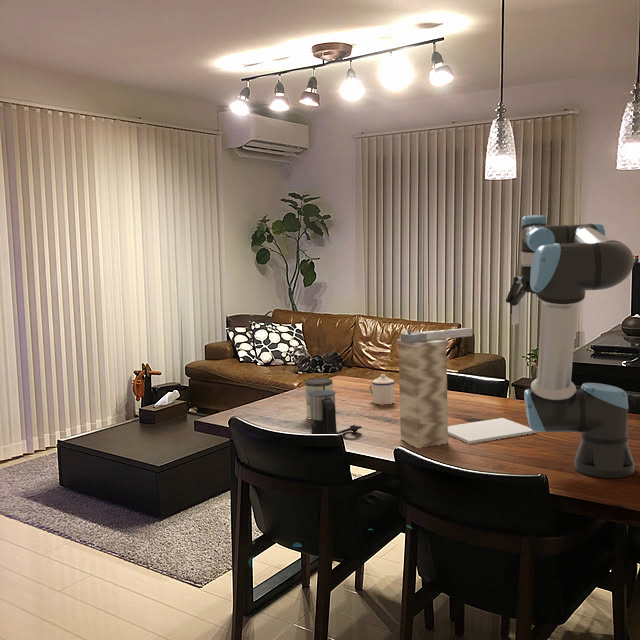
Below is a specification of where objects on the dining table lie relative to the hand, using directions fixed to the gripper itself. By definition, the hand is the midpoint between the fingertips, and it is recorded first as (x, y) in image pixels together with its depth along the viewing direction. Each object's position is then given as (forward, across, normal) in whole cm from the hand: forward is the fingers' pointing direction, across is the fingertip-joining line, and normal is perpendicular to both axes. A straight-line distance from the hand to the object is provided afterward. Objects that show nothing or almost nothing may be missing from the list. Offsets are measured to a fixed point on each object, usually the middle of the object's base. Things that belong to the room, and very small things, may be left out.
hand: (531, 328), depth 220 cm
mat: (+34, +5, +16) cm, 38 cm away
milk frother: (+33, +35, +56) cm, 74 cm away
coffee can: (+37, +57, +48) cm, 83 cm away
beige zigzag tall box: (+32, +10, +39) cm, 52 cm away
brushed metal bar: (0, +12, +30) cm, 32 cm away
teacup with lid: (+40, +61, +17) cm, 75 cm away
